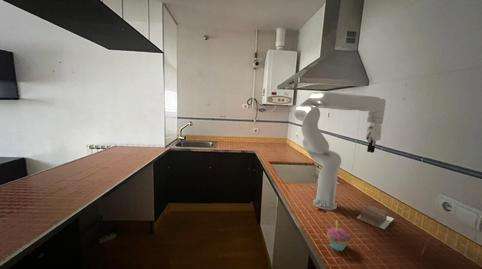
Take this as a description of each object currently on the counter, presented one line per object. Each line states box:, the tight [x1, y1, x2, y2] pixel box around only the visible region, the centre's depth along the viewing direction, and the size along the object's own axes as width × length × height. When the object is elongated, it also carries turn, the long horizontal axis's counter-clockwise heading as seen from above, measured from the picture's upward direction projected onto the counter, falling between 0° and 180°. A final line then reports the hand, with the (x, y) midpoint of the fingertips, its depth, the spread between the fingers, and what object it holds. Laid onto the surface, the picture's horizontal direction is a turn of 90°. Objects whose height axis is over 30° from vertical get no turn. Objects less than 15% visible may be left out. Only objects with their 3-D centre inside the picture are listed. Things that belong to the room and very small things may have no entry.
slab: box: [359, 205, 388, 228], centre depth 101 cm, size 4×8×12 cm
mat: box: [356, 214, 395, 230], centre depth 104 cm, size 16×12×1 cm
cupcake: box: [326, 219, 351, 252], centre depth 80 cm, size 9×8×12 cm
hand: (370, 152), depth 118 cm, fingers closed
